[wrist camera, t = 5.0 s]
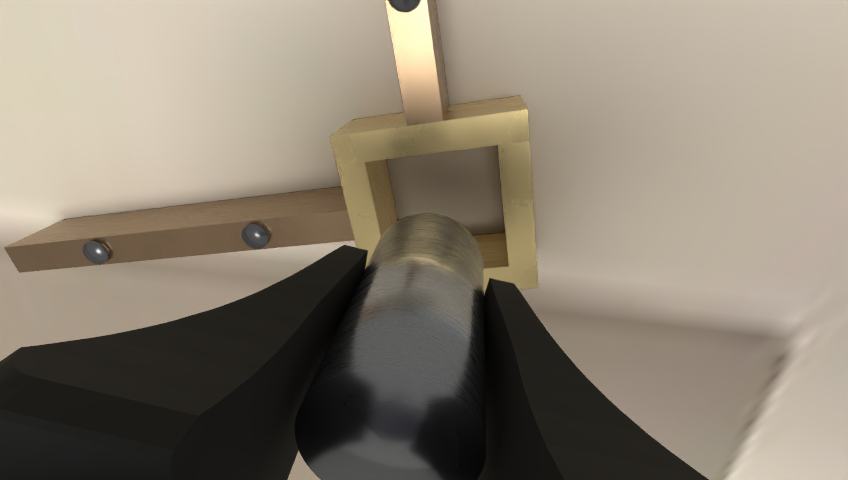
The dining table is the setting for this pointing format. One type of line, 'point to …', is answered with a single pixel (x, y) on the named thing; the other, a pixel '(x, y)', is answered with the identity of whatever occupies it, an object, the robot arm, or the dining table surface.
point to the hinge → (338, 206)
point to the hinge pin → (404, 364)
